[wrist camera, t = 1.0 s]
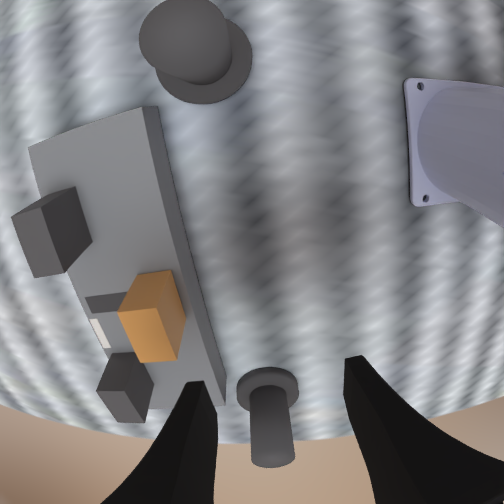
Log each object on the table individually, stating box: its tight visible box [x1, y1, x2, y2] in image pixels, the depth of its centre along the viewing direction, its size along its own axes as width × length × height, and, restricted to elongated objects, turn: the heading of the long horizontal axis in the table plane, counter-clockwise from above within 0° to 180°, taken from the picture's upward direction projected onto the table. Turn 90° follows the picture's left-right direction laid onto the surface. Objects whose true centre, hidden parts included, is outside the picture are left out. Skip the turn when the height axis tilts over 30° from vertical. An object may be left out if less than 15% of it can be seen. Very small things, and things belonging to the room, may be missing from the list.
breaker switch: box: [117, 270, 186, 363], centre depth 16 cm, size 2×3×4 cm, turn 9°
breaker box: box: [11, 106, 226, 423], centre depth 17 cm, size 7×20×6 cm, turn 9°
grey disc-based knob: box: [139, 0, 252, 104], centre depth 12 cm, size 5×5×7 cm
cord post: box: [237, 367, 299, 468], centre depth 22 cm, size 5×5×7 cm
